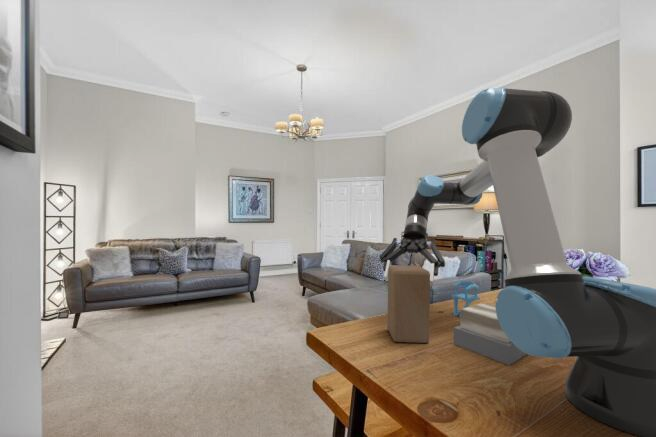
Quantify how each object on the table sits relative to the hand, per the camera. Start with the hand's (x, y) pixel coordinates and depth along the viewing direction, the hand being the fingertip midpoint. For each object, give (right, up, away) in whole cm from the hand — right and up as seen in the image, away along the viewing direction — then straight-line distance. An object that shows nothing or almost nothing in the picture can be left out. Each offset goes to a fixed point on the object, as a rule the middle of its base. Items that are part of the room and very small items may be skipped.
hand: (408, 281), depth 88 cm
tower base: (+20, -16, -11) cm, 27 cm away
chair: (+25, -16, +16) cm, 34 cm away
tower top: (+20, -11, -10) cm, 25 cm away
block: (-1, -15, -4) cm, 16 cm away
